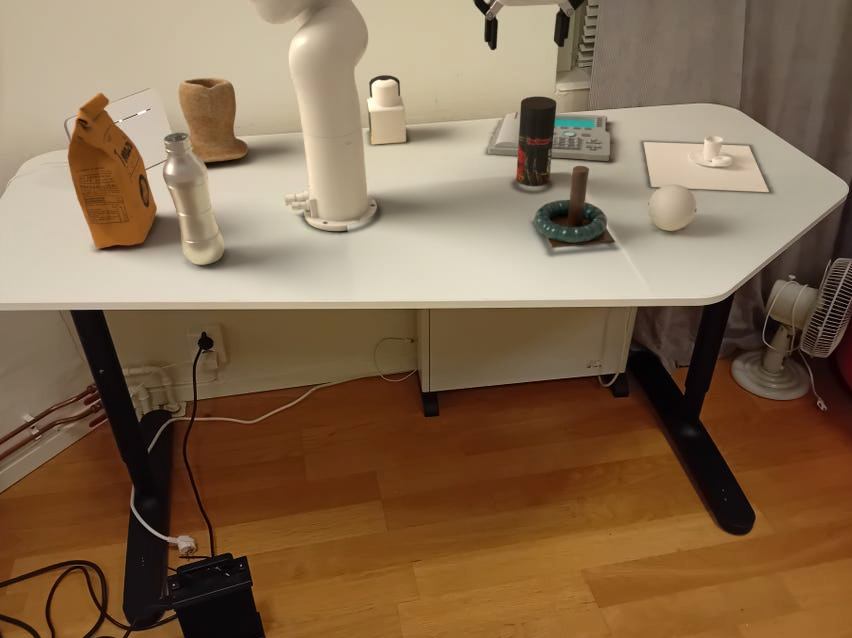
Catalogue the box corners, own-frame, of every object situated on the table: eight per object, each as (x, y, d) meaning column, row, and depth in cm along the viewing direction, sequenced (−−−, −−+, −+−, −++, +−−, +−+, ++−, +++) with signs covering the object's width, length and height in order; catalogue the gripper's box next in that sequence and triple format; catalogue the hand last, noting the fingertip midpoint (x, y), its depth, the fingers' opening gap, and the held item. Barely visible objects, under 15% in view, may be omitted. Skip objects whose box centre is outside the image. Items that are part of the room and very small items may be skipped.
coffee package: (168, 214, 128) (134, 88, 114) (146, 251, 119) (106, 118, 105) (113, 215, 129) (72, 89, 115) (86, 251, 119) (38, 119, 105)
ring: (544, 248, 113) (545, 234, 111) (526, 213, 122) (527, 200, 120) (616, 241, 114) (618, 228, 112) (592, 207, 122) (594, 194, 121)
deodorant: (547, 193, 130) (555, 109, 121) (514, 191, 131) (519, 108, 122) (549, 178, 135) (557, 97, 125) (517, 176, 136) (522, 95, 126)
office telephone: (487, 142, 142) (502, 105, 157) (487, 155, 144) (501, 116, 159) (610, 148, 138) (613, 109, 153) (608, 161, 139) (611, 121, 154)
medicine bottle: (369, 131, 155) (365, 73, 147) (402, 129, 155) (400, 71, 147) (371, 145, 149) (367, 85, 141) (406, 142, 149) (404, 83, 142)
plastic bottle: (189, 273, 113) (156, 150, 100) (182, 253, 118) (149, 133, 105) (231, 263, 115) (203, 141, 102) (222, 244, 120) (194, 125, 107)
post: (551, 254, 114) (557, 186, 107) (535, 223, 122) (540, 158, 115) (613, 248, 115) (624, 180, 108) (593, 218, 123) (602, 152, 115)
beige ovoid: (697, 238, 116) (707, 196, 112) (649, 239, 117) (658, 197, 112) (681, 209, 124) (690, 168, 120) (637, 209, 125) (644, 169, 120)
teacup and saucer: (736, 171, 134) (741, 150, 132) (691, 169, 136) (695, 148, 133) (728, 152, 141) (733, 131, 139) (685, 150, 142) (690, 130, 140)
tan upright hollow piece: (249, 141, 152) (236, 67, 143) (248, 165, 143) (234, 88, 134) (175, 148, 151) (156, 74, 141) (169, 172, 142) (149, 95, 132)
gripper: (474, -88, 90) (469, 56, 100) (611, -92, 91) (592, 51, 102) (464, -98, 95) (461, 40, 106) (594, -101, 97) (577, 35, 107)
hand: (525, 45), depth 104 cm, fingers open, 9 cm apart
